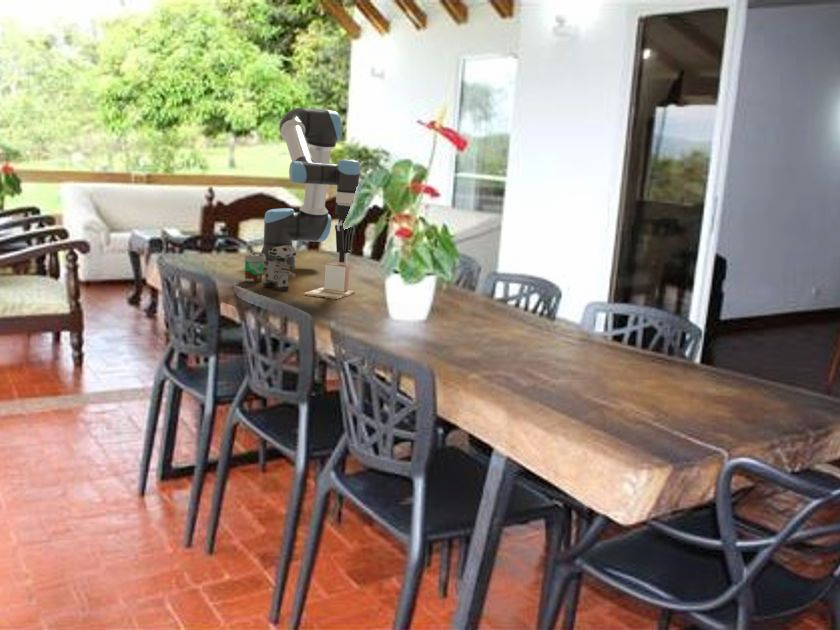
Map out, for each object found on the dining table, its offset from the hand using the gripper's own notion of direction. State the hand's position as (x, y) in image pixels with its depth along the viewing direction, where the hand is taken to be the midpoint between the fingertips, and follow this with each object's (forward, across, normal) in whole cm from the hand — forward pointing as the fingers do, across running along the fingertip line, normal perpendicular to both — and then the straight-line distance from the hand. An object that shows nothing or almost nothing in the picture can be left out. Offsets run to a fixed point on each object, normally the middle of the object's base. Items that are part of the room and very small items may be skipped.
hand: (342, 271), depth 299 cm
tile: (+6, -5, 0) cm, 8 cm away
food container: (+7, -6, +31) cm, 32 cm away
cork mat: (+7, -10, 0) cm, 12 cm away
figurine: (+7, -12, +18) cm, 23 cm away
